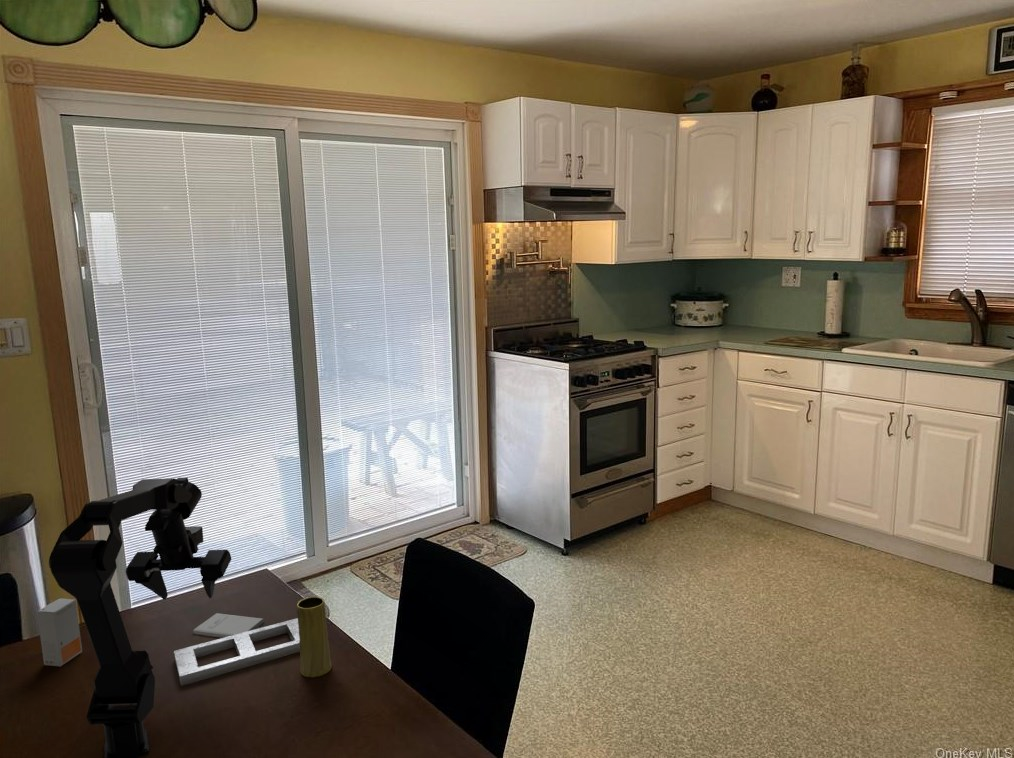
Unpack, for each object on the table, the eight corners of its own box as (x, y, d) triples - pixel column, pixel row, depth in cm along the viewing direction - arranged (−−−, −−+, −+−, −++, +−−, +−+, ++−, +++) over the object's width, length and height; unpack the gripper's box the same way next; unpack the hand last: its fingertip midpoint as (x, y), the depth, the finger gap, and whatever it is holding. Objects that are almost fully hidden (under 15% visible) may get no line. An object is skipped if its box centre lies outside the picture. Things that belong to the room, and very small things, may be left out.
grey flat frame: (314, 647, 154) (314, 638, 154) (180, 686, 142) (179, 676, 142) (301, 625, 164) (300, 617, 164) (174, 659, 151) (173, 650, 151)
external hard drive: (241, 643, 158) (193, 636, 162) (264, 624, 166) (218, 618, 170) (241, 636, 158) (192, 629, 162) (263, 617, 166) (217, 611, 170)
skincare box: (61, 667, 150) (53, 612, 148) (43, 665, 151) (35, 611, 149) (83, 651, 156) (76, 598, 154) (66, 650, 157) (59, 597, 155)
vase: (293, 673, 145) (287, 606, 143) (315, 658, 150) (309, 592, 148) (317, 681, 142) (311, 612, 140) (338, 665, 147) (333, 598, 145)
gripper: (232, 509, 149) (246, 569, 156) (140, 511, 149) (159, 571, 156) (213, 544, 139) (229, 607, 146) (114, 547, 139) (135, 609, 146)
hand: (188, 597), depth 149 cm, fingers open, 9 cm apart
